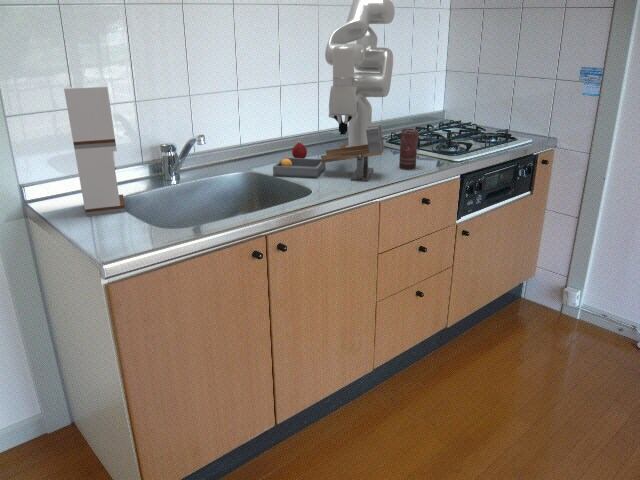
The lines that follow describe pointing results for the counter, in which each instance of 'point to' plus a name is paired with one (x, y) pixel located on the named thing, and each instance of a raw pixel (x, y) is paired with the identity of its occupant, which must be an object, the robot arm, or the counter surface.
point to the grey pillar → (94, 148)
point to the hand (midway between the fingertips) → (343, 133)
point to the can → (408, 149)
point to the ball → (286, 163)
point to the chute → (358, 147)
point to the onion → (299, 151)
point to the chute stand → (362, 170)
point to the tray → (300, 168)
